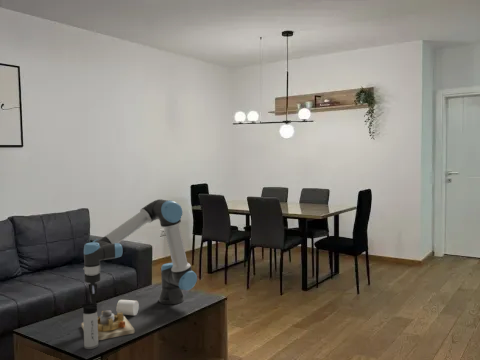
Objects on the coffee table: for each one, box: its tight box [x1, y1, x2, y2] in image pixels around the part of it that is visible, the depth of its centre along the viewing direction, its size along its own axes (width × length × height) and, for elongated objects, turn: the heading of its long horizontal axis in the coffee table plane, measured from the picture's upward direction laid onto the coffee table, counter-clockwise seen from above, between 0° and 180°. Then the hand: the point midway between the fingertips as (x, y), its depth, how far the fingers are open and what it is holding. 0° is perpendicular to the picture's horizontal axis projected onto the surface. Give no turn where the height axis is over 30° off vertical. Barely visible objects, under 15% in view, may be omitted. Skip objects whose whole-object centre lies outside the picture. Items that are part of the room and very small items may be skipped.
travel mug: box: [82, 303, 99, 350], centre depth 206 cm, size 6×7×20 cm
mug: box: [115, 299, 140, 316], centre depth 249 cm, size 12×10×8 cm
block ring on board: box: [80, 309, 135, 341], centre depth 225 cm, size 22×22×10 cm
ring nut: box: [97, 310, 125, 332], centre depth 225 cm, size 16×18×5 cm
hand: (93, 318), depth 224 cm, fingers closed
